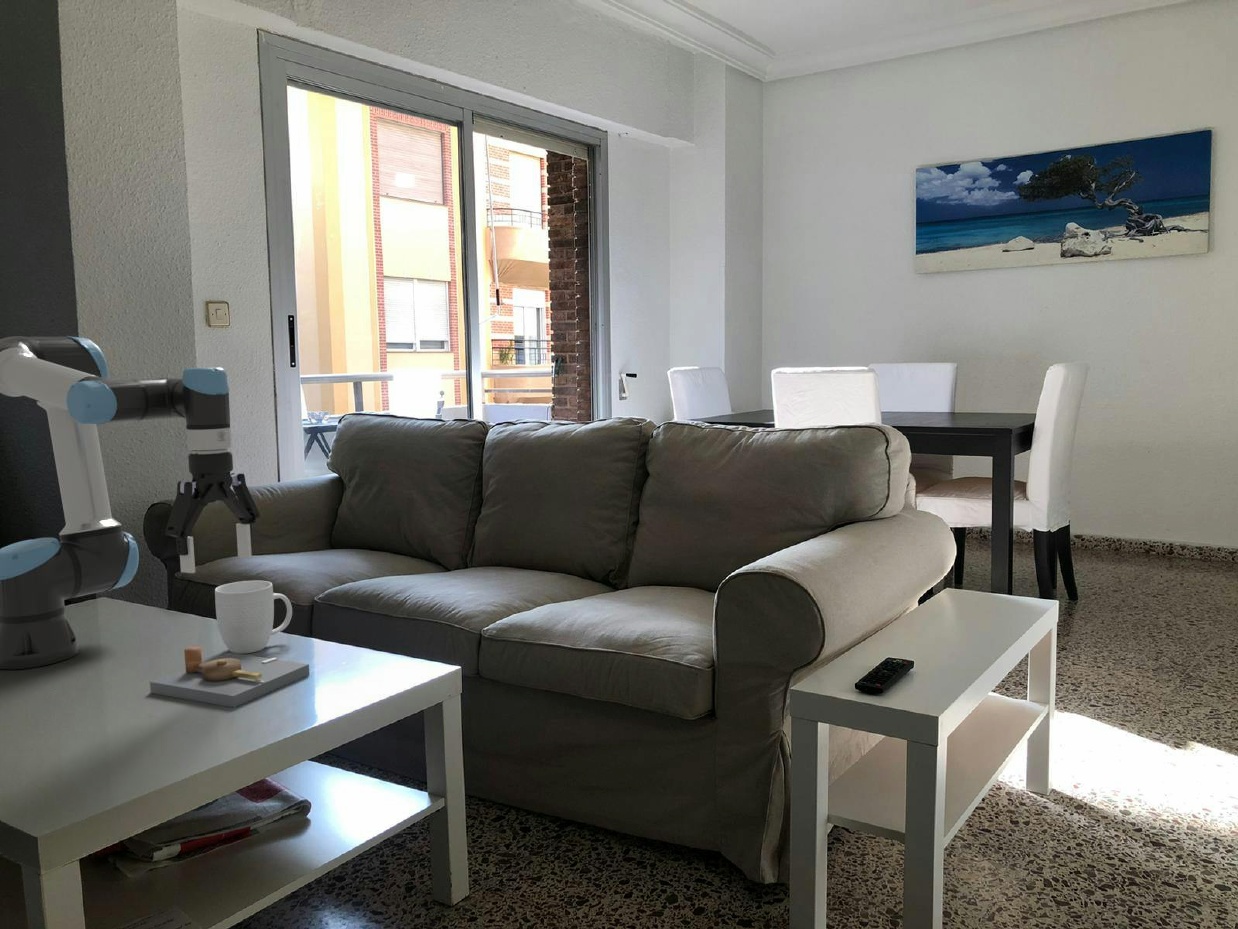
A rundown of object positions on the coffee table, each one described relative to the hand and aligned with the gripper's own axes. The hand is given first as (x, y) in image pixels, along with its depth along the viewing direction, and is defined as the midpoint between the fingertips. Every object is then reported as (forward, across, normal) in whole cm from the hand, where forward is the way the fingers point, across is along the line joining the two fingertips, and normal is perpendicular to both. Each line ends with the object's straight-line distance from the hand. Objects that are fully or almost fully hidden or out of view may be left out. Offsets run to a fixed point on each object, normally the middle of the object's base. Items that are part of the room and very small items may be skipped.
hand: (217, 564), depth 180 cm
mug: (+21, +13, +6) cm, 26 cm away
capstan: (+18, -7, -7) cm, 21 cm away
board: (+20, -5, -7) cm, 22 cm away
